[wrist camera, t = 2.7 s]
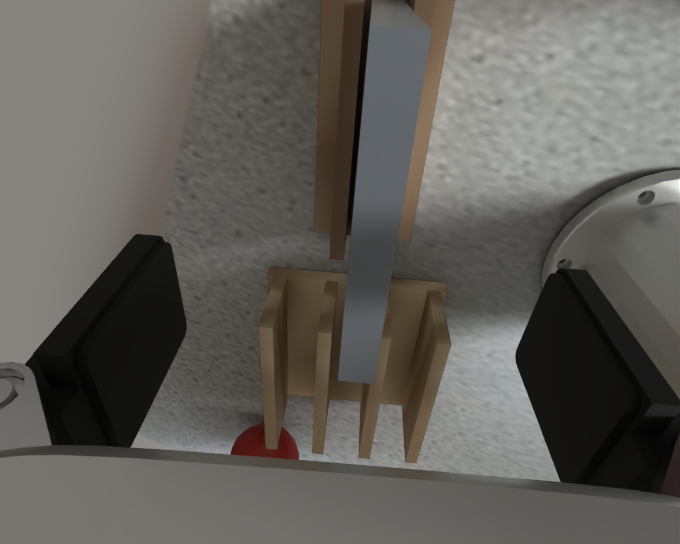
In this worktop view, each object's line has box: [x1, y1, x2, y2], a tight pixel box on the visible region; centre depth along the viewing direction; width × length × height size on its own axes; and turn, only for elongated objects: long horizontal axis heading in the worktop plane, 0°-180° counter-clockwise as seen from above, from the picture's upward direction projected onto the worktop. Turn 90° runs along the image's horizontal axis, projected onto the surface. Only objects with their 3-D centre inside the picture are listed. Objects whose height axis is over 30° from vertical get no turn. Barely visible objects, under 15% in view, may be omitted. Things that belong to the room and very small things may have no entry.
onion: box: [230, 423, 299, 460], centre depth 36 cm, size 6×6×8 cm
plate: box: [338, 0, 432, 384], centre depth 18 cm, size 1×12×12 cm, turn 177°
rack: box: [258, 267, 451, 463], centre depth 30 cm, size 12×12×6 cm
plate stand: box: [314, 0, 455, 260], centre depth 22 cm, size 6×13×4 cm, turn 176°
